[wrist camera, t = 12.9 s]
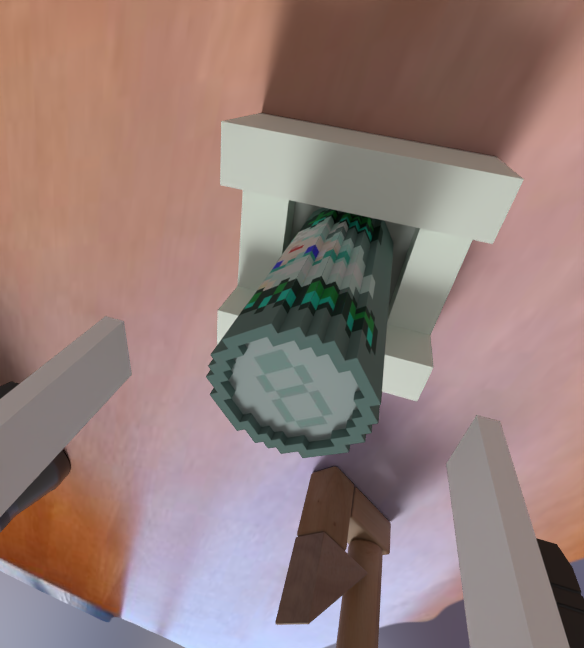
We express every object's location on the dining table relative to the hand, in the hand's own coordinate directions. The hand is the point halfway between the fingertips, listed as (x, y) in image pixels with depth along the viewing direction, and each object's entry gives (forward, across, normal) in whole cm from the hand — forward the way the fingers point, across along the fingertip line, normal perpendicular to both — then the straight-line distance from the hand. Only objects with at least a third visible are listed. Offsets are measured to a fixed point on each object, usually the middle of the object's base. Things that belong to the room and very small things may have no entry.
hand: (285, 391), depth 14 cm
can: (+15, 0, 0) cm, 15 cm away
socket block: (+15, +1, 0) cm, 15 cm away
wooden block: (+15, +8, -29) cm, 33 cm away
